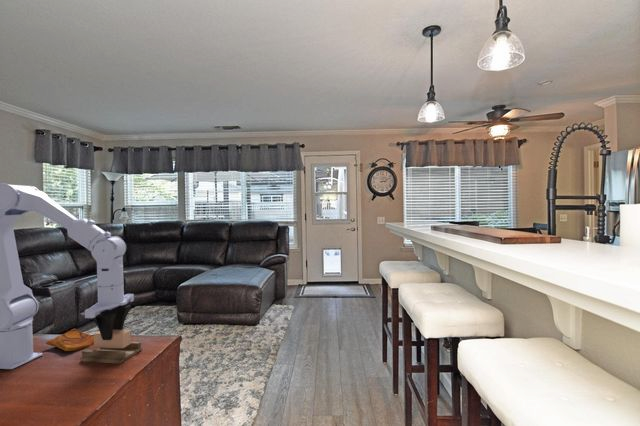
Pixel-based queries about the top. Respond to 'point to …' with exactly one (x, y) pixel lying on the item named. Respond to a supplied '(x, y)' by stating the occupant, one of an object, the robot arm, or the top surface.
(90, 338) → the pottery fragment
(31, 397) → the top surface
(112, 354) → the grey u-channel
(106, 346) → the clay strip
